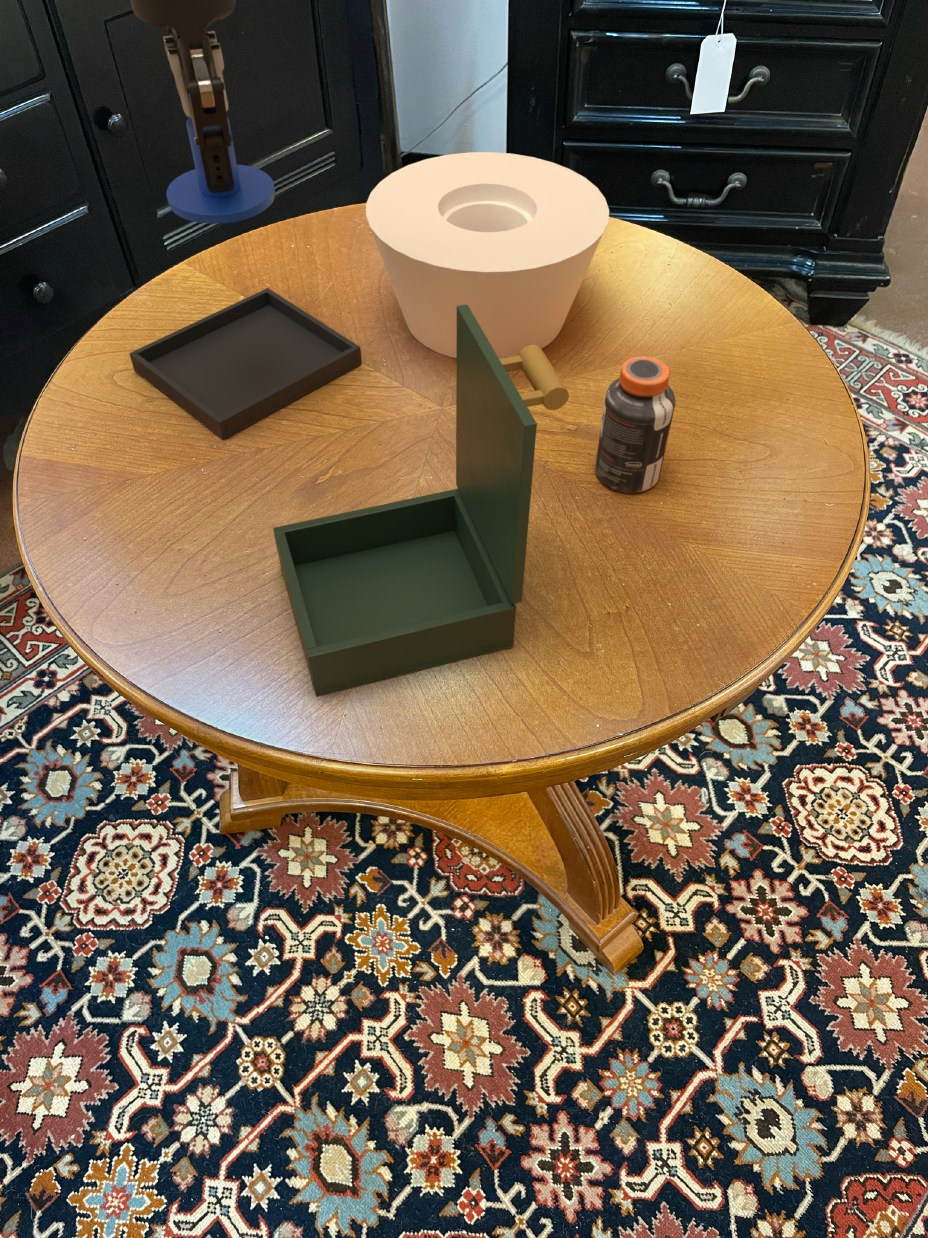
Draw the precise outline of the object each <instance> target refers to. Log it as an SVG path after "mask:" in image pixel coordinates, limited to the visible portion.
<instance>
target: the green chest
mask: <svg viewBox="0 0 928 1238" xmlns="http://www.w3.org/2000/svg"><path fill="white" fill-rule="evenodd" d="M272 530H273V536H274V542H275V546H276V550H277V555H278V560H279V566H280V570H281V573H282V577H283V581H284V584H285V588H286V592H287V596H288V600H289V603H290V607H291V610H292V614H293V618H294V621H295V625H296V629H297V633H298V636H299V641H300V644H301V648H302V651H303V655H304V659H305V662H306V666H307V669H308V673H309V677H310V680H311V684H312V688H313V692H314V695H315V697H319V696H323V695H328V694H331V693H336V692H340V691H343V690H348V689H352V688H355V687H359V686H363V685H367V684H371V683H374V682H379V681H383V680H388V679H391V678H394V677H395V678H396V677H399V676H403V675H407V674H410V673H411V674H412V673H415V672H419V671H422V670H427V669H431V668H436V667H439V666H443V665H446V664H451V663H454V662H460V661H463V660H467V659H471V658H474V657H479V656H483V655H486V654H491V653H495V652H499V651H502V650H507V649H510V648H513V647H514V640H515V627H516V613H517V606H516V603H514V604H512V603H511V601H510V599H509V597H508V594H507V592H506V590H505V588H504V586H503V584H502V582H501V579H500V577H499V575H498V573H497V571H496V569H495V567H494V564H493V562H492V560H491V558H490V556H489V554H488V552H487V549H486V547H485V545H484V543H483V541H482V539H481V537H480V534H479V532H478V530H477V528H476V526H475V524H474V522H473V519H472V517H471V515H470V513H469V511H468V509H467V507H466V504H465V502H464V500H463V498H462V496H461V494H460V492H459V489H458V488H455V489H449V490H444V491H440V492H436V493H435V492H434V493H431V494H425V495H421V496H417V497H416V496H415V497H412V498H407V499H402V500H397V501H393V502H389V503H383V504H379V505H374V506H370V507H365V508H359V509H355V510H351V511H346V512H340V513H336V514H332V515H326V516H321V517H316V518H313V519H308V520H303V521H299V522H298V521H297V522H293V523H289V524H285V525H280V526H274V527H272Z"/></svg>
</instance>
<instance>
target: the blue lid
mask: <svg viewBox="0 0 928 1238" xmlns="http://www.w3.org/2000/svg"><path fill="white" fill-rule="evenodd" d="M227 120H228V127H229V134H231V138H232V141H231V146H230V147H228V151H229V157H230V162H231V168H232V174H233V179H234V185H235V186H234V189H233V190H232V191H227V192H220V193H211V192H210V191H209V190H208V188H207V184H206V179H205V175H204V170H203V165H202V160H201V155H200V150H199V149H198V146H197V144H195V140H194V137H196V136H195V131H194V127H193V122H192V118H187V120H186V130H187V135H188V139H189V144H190V149H191V155H192V159H193V163H194V167H195V168H194V169H192V170H189V171H187V172H184V173H182V174H180V175H179V176H177V177H176V178H174V180H172V181H171V182H170V183H169V185H168V187H167V190H166V197H167V203H168V207H169V208H170V210H171V211H172V212H173V213H174V214H175V215H177V217H180V218H181V219H184V220H187V221H190V222H194V223H200V224H209V225H210V224H211V225H216V224H217V225H219V224H231V223H236V222H240V221H244V220H247V219H250V218H254V217H255V216H257V215H260V214H261V213H263V212H264V211H266V210H267V209H268V208H270V206H271V205H272V204H273V203H274V200H275V198H276V190H275V183H274V180H273V178H272V177H271V176H270V175H269V174H268V173H266V172H265V171H263V170H261V169H259V168H256V167H253V166H250V165H244V164H238V163H237V158H236V152H235V146H234V140H233V133H232V128H231V123H230V119H229V117H228V116H227ZM211 129H219V125H217V126H209V127H204V128H203V130H211Z"/></svg>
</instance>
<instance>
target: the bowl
mask: <svg viewBox="0 0 928 1238" xmlns="http://www.w3.org/2000/svg"><path fill="white" fill-rule="evenodd" d="M606 199H607V198H606V197H605V196H604V194H603V193H602V192H601V191H600V189H599V188H598V186H596V185H595V184H594V183H592V182H591V181H590V180H588V179H587V177H585V176H583V175H581V174H579V173H578V172H576V171H575V170H572V169H571V168H568V167H565V166H563V165H560V164H558V163H555V162H552V161H548V160H545V159H541V158H537V157H535V156H528V155H522V154H516V153H510V152H509V153H507V152H495V151H494V152H493V151H480V152H479V151H478V152H475V151H473V152H459V153H452V154H450V153H449V154H445V155H444V154H443V155H438V156H434V157H430V158H426V159H422V160H420V161H416V162H414V163H411V164H407V165H405V166H403V167H402V168H399V169H398V170H396V171H394V172H391V173H390V174H388V175H387V176H386V177H385V178H383V179H382V180H380V182H378V184H377V185H376V186H375V187H374V188H373V189H372V190H371V192H370V194H369V196H368V199H367V201H366V203H365V217H366V219H367V223H368V225H369V227H370V231H371V233H372V236H373V238H374V242H375V244H376V246H377V250H378V252H379V254H380V257H381V259H382V262H383V266H384V268H385V270H386V273H387V275H388V278H389V281H390V284H391V287H392V289H393V292H394V294H395V296H396V300H397V303H398V305H399V308H400V310H401V313H402V315H403V316H402V317H403V318H404V321H405V323H406V326H407V328H408V330H409V332H410V334H412V336H413V337H414V338H415V340H417V341H418V342H419V343H421V344H422V345H423V346H424V347H426V348H428V349H430V350H431V351H433V352H435V353H438V354H441V355H443V356H446V357H449V358H453V359H457V306H460V305H466V304H467V305H468V306H469V308H470V310H471V311H472V313H473V315H474V317H475V318H476V320H477V322H478V323H479V325H480V327H481V329H482V330H483V332H484V334H485V335H486V337H487V339H488V341H489V342H490V344H491V346H492V348H493V349H494V351H495V353H496V354H497V356H498V358H499V359H502V358H508V357H513V356H518V355H519V353H520V351H521V350H522V349H523V348H524V347H526V346H529V345H537V346H539V347H540V348H541V350H542V349H544V348H545V347H546V346H548V345H549V344H552V342H553V341H554V340H555V339H556V337H558V335H559V334H560V332H561V331H562V328H563V326H564V324H565V322H566V319H567V316H568V315H569V312H570V310H571V308H572V305H573V304H574V301H575V299H576V296H577V294H578V292H579V290H580V287H581V285H582V283H583V280H584V279H585V276H586V274H587V271H588V269H589V267H590V265H591V263H592V260H593V258H594V256H595V253H596V252H597V249H598V246H599V244H600V242H601V239H602V237H603V235H604V233H605V232H606V228H607V226H608V224H609V221H610V220H609V219H610V209H609V205H608V203H607V200H606Z"/></svg>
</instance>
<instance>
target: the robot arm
mask: <svg viewBox="0 0 928 1238" xmlns="http://www.w3.org/2000/svg"><path fill="white" fill-rule="evenodd" d="M236 3H237V0H130V5H131V9H132V12H133V13H134V15H135V16H136V17H137V18H138V19H139V20H141V21H142V22H144V23H146V24H149V25H151V26H155V27H160V28H161V27H163V26H165V27H166V29H167V30H166V31H167V34H168V35H166V36H162V38H163V44H164V49H165V52H166V53H165V54H166V57H167V60H168V63H169V67H170V70H171V72H172V74H173V76H174V81H175V86H176V90H177V94H178V96H179V97H180V102H181V106H182V110H183V112H184V114H185V115H186V117H187V119H189V118H192V122H193V127H194V131H195V136H196V137H194V140H195V144H197V146H198V149H199V150H200V155H201V160H202V165H203V170H204V175H205V179H206V184H207V188H208V190H209V191H210V192H211V193H220V192H227V191H232V190H233V189H234V186H235V185H234V179H233V174H232V168H231V162H230V157H229V151H228V147H230V146H231V141H232V140H233V137H232V138H231V134H232V133H231V134H229V127H228V120H227V117H228V114H227V113H228V111H229V101H228V96H227V90H226V85H225V79H224V74H223V72H224V69H225V63H224V58H223V57H224V56H223V52H222V47H221V44H220V42H219V43H218V39H217V34H216V31H215V30H211V31H208V27H209V26H210V25H212V23H215V22H216V21H217V22H219V21H222V20H224V19H226V18H227V17H228V16H230V15H231V14H232V13H233V11H234V9H235V7H236ZM217 125H219V129H211V130H203V128H204V127H209V126H217Z"/></svg>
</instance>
